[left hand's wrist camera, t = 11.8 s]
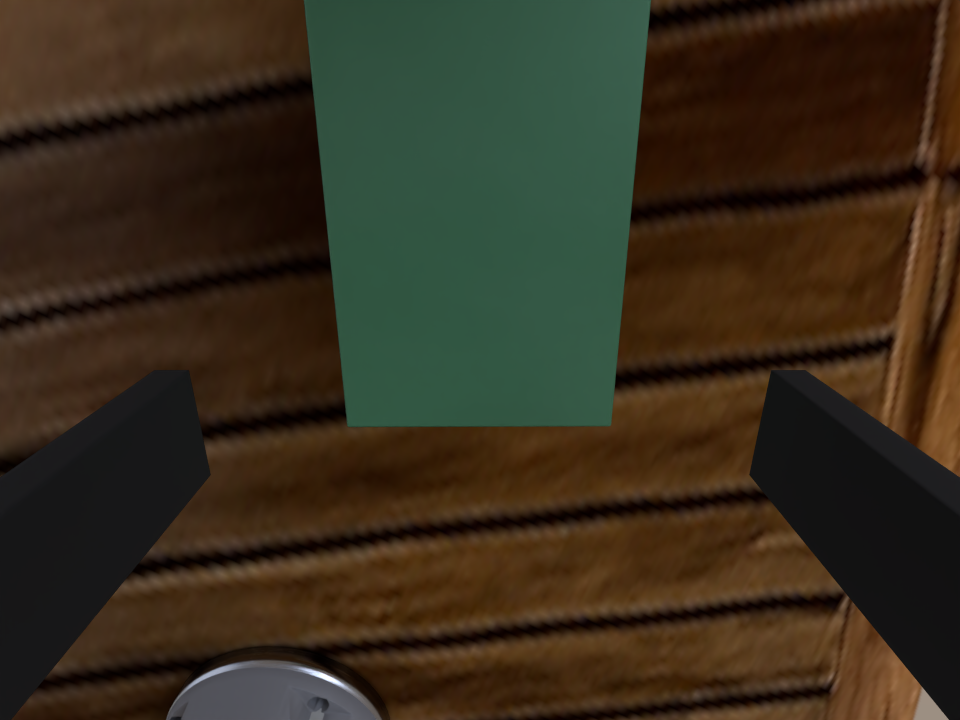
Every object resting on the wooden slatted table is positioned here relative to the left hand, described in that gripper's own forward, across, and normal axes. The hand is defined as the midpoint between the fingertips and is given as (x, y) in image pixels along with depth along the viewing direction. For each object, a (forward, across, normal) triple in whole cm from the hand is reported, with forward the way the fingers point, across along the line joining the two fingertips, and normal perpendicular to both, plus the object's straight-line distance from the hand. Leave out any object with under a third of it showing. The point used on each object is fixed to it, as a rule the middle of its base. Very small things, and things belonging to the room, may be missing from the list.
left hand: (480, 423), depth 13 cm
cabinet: (+16, 0, -3) cm, 16 cm away
